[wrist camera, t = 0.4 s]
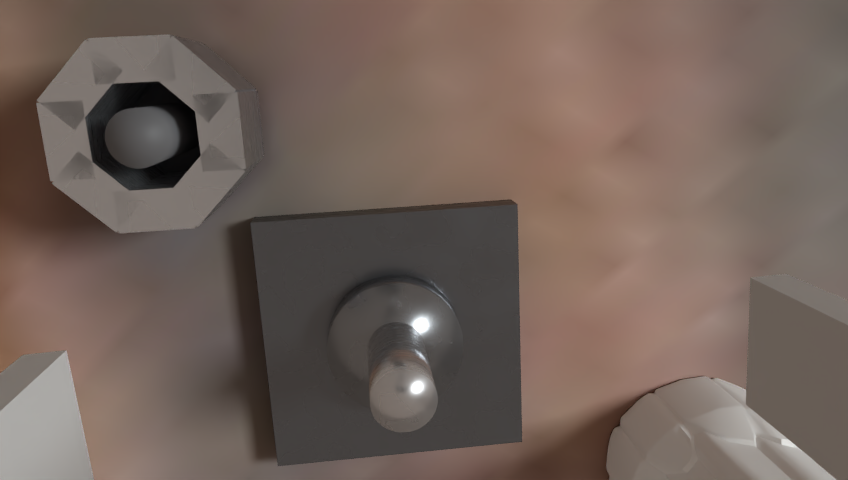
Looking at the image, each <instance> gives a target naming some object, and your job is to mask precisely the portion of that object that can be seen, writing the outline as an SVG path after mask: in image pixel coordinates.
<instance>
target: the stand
mask: <svg viewBox="0 0 848 480" xmlns="http://www.w3.org/2000/svg"><path fill="white" fill-rule="evenodd" d="M105 142H106V146H107V148H108V150H109V152H110V154H111V155H112V156H113V157H114V159H116V160H117V161H118V162H119V163H121V164H123V165H125V166H127V167H130V168H136V169H141V168H147V167H150V166H152V165H155V164H157V165H159V166H160V167H161V168H162V169H164V170H165V171H166V172H182V171H188V170H189V169H190V168H191V166H192V165H193V164H194V163H195V162H196V160H197V159H198V158H199V157H200V156H201V154H200V146H199V138H198V131H197V123H196V115H195V111H194V110H193V109H191V108H190V107H189V106H188V105H187V104H185V103H184V102H183V101H182V100H181V99H179V98H178V97H177V96H176V95H175V94H173V93H172V92H171V91H170V90H169V89H167V88H166V87H165V86H164V85H163V84H161V83H156V84H154V85H153V87H152V88H151V89H150V90H149V91H148V93H147V94H146V95H145V96H144V98H143V99H142V100H141V101H140V102H139V104H138V105H137V106H136V107H135V108H130V109H125V110H122V111H120V112H118V113H116V114H115V115H114V116H113V117H112V118H111V119H110V120H109V122H108V124H107V126H106V130H105Z"/></svg>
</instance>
